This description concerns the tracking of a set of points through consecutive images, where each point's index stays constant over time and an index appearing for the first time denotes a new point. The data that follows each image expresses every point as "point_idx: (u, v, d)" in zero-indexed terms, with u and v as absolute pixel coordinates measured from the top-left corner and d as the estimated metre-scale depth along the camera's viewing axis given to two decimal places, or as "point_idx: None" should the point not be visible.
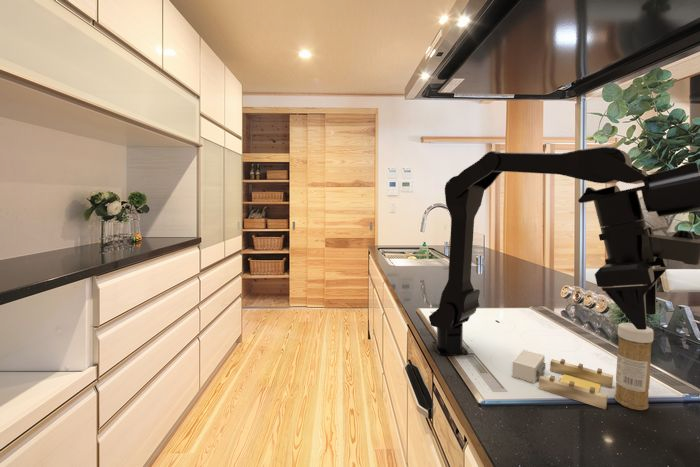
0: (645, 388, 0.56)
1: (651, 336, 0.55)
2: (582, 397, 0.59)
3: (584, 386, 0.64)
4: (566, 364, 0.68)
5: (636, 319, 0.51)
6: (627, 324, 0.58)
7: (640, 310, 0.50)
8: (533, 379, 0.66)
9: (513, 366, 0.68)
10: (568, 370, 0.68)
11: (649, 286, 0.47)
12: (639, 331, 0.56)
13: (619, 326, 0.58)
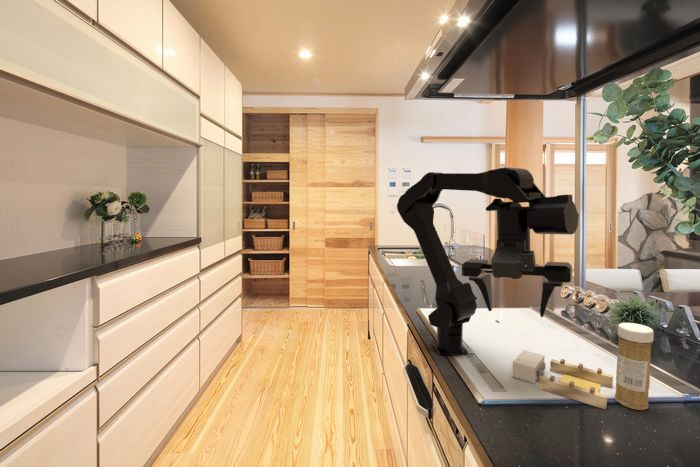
0: (645, 388, 0.56)
1: (651, 336, 0.55)
2: (582, 397, 0.59)
3: (584, 386, 0.64)
4: (566, 364, 0.68)
5: None
6: (627, 324, 0.58)
7: None
8: (533, 379, 0.66)
9: (513, 366, 0.68)
10: (568, 370, 0.68)
11: (469, 278, 0.70)
12: (639, 331, 0.56)
13: (619, 326, 0.58)
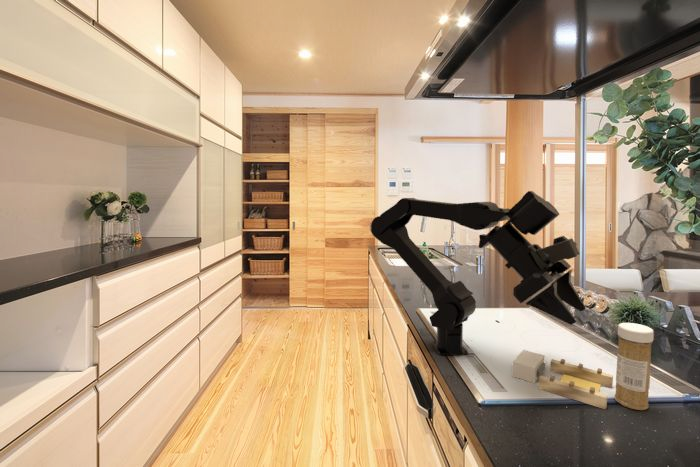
0: (645, 388, 0.56)
1: (651, 336, 0.55)
2: (582, 397, 0.59)
3: (584, 386, 0.64)
4: (566, 364, 0.68)
5: (564, 317, 0.60)
6: (627, 324, 0.58)
7: (561, 308, 0.59)
8: (533, 379, 0.66)
9: (513, 366, 0.68)
10: (568, 370, 0.68)
11: (551, 286, 0.58)
12: (639, 331, 0.56)
13: (619, 326, 0.58)
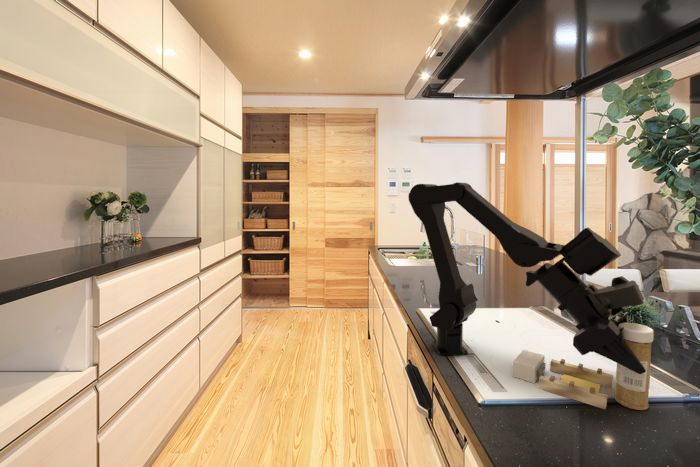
0: (645, 388, 0.56)
1: (651, 336, 0.55)
2: (582, 397, 0.59)
3: (584, 386, 0.64)
4: (566, 364, 0.68)
5: (633, 365, 0.56)
6: (627, 324, 0.58)
7: (630, 356, 0.56)
8: (533, 379, 0.66)
9: (513, 366, 0.68)
10: (568, 370, 0.68)
11: (620, 334, 0.54)
12: (639, 331, 0.56)
13: (619, 326, 0.58)
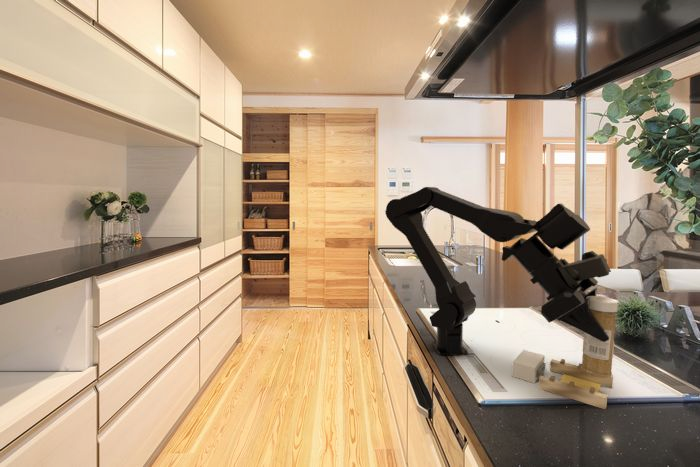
0: (608, 356, 0.59)
1: (615, 306, 0.59)
2: (582, 397, 0.59)
3: (584, 386, 0.64)
4: (566, 364, 0.68)
5: (597, 333, 0.59)
6: (594, 296, 0.62)
7: (594, 325, 0.58)
8: (533, 379, 0.66)
9: (513, 366, 0.68)
10: (568, 370, 0.68)
11: (585, 303, 0.57)
12: (604, 301, 0.59)
13: (586, 298, 0.61)
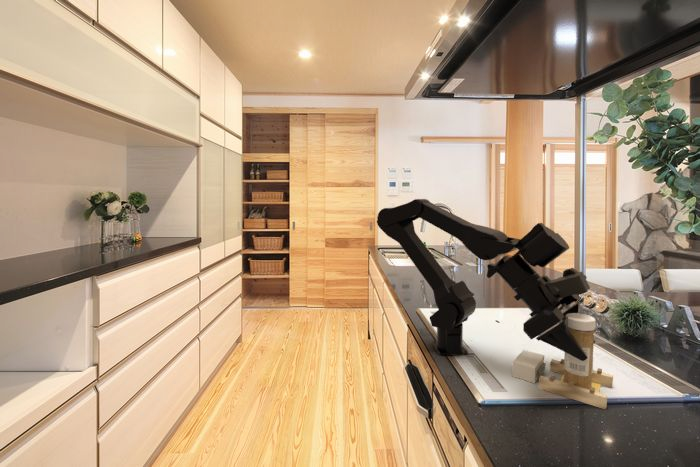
0: (588, 373, 0.61)
1: (593, 325, 0.60)
2: (582, 397, 0.59)
3: None
4: None
5: (576, 353, 0.59)
6: (573, 314, 0.63)
7: (573, 344, 0.59)
8: (533, 379, 0.66)
9: (513, 366, 0.68)
10: None
11: (563, 323, 0.58)
12: (582, 320, 0.60)
13: (566, 316, 0.63)
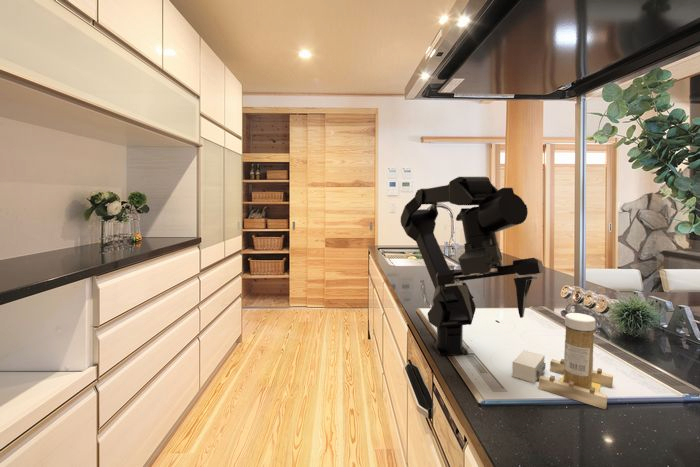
0: (588, 373, 0.61)
1: (593, 325, 0.60)
2: (582, 397, 0.59)
3: None
4: None
5: None
6: (573, 314, 0.63)
7: None
8: (533, 379, 0.66)
9: (513, 366, 0.68)
10: None
11: (444, 287, 0.69)
12: (582, 320, 0.60)
13: (566, 316, 0.63)
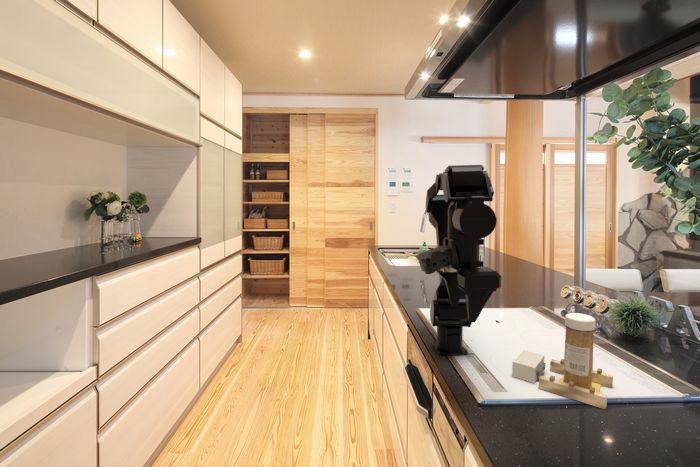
0: (588, 373, 0.61)
1: (593, 325, 0.60)
2: (582, 397, 0.59)
3: None
4: None
5: None
6: (573, 314, 0.63)
7: None
8: (533, 379, 0.66)
9: (513, 366, 0.68)
10: None
11: (436, 271, 0.74)
12: (582, 320, 0.60)
13: (566, 316, 0.63)
